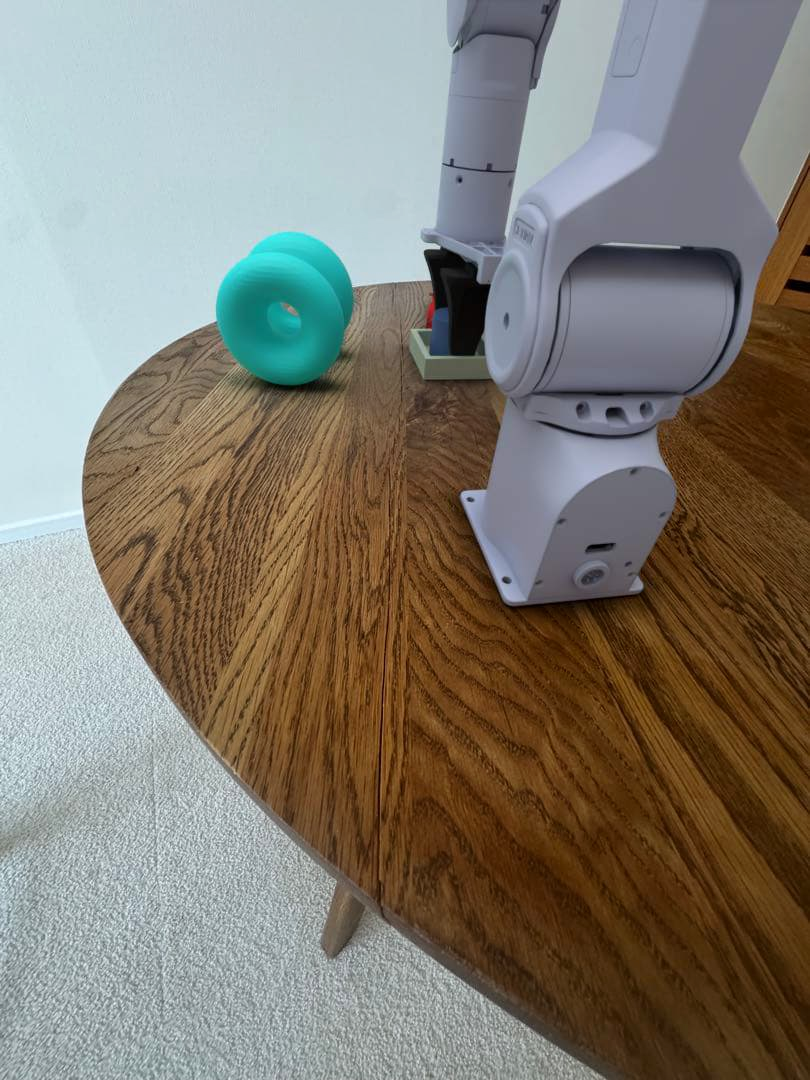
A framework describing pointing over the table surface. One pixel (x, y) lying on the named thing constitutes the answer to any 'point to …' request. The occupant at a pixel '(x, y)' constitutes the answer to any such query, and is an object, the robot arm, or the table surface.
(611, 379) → the robot arm
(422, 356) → the tray
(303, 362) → the turquoise spool
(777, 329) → the table surface
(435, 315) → the cylinder
